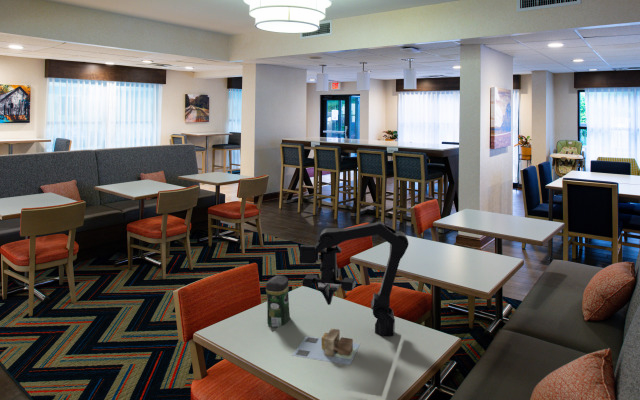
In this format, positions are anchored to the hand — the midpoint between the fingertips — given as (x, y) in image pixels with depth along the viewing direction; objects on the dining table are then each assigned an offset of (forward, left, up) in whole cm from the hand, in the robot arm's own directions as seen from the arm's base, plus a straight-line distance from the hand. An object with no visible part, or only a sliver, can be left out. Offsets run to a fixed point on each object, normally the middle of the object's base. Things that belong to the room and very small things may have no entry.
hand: (329, 304), depth 166 cm
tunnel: (-5, +13, -11) cm, 18 cm away
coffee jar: (+22, -3, -12) cm, 25 cm away
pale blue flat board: (-3, +13, -12) cm, 18 cm away
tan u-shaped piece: (-7, +13, -10) cm, 18 cm away
